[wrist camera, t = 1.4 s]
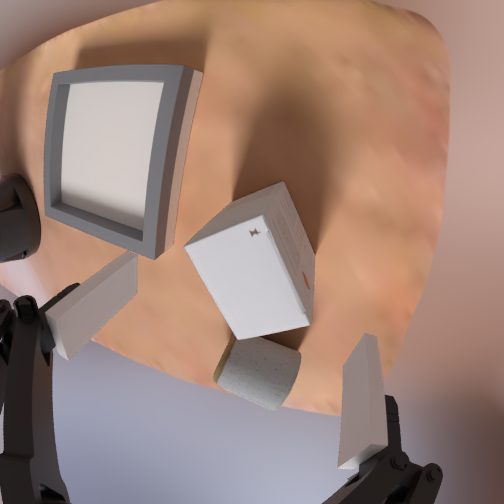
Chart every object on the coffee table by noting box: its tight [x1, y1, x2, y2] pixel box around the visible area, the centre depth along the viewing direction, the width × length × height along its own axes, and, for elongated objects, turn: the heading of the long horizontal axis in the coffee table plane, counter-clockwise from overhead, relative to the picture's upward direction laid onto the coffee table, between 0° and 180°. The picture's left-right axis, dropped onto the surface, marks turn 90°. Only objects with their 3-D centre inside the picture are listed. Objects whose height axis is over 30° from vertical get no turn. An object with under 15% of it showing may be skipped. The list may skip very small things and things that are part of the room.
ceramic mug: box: [213, 334, 301, 411], centre depth 30 cm, size 11×8×8 cm
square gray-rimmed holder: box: [44, 64, 203, 260], centre depth 24 cm, size 18×18×4 cm
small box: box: [184, 181, 315, 340], centre depth 21 cm, size 8×6×10 cm
